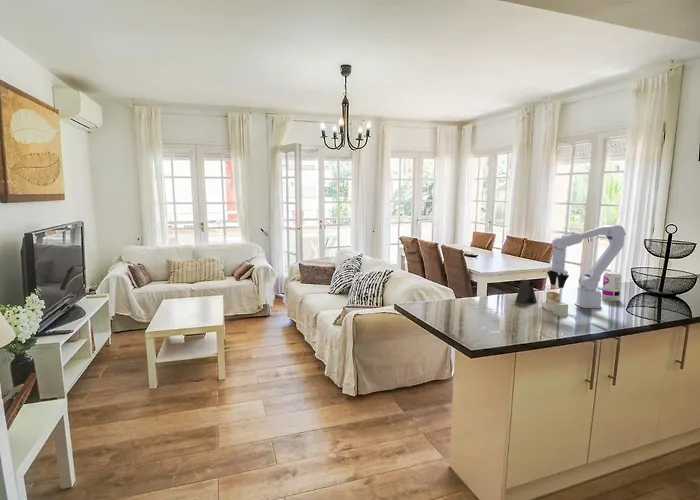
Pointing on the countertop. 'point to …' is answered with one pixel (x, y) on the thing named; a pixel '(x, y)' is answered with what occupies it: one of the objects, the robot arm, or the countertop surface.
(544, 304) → the pedestal block
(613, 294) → the supplement can
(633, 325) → the countertop surface
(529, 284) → the door stopper
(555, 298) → the beech block
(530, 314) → the countertop surface
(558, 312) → the sage block
